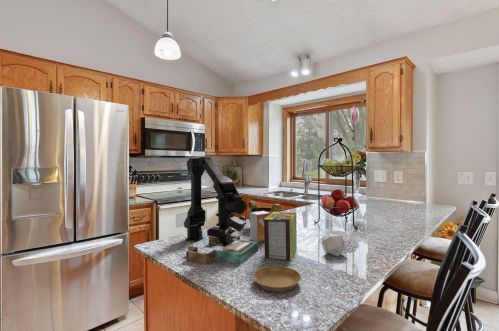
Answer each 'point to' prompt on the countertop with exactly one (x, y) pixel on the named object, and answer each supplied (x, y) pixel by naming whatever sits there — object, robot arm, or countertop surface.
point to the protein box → (280, 235)
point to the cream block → (236, 247)
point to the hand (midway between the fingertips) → (225, 248)
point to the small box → (257, 225)
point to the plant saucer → (277, 278)
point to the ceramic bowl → (262, 208)
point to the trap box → (221, 252)
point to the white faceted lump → (334, 244)
